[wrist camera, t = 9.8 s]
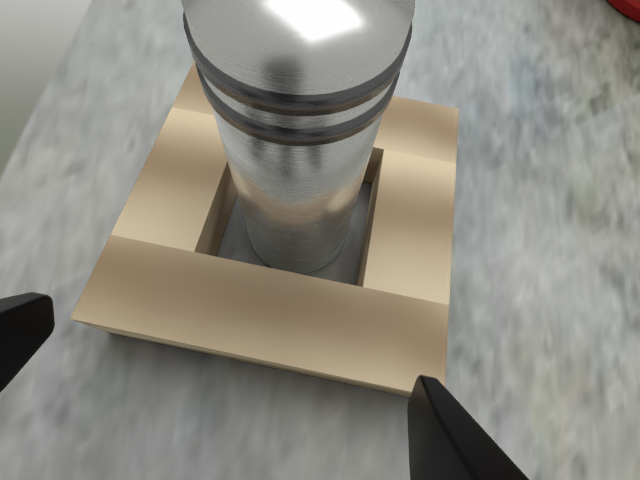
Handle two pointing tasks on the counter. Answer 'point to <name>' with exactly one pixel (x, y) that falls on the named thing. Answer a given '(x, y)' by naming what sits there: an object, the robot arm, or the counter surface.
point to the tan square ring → (277, 285)
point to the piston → (298, 110)
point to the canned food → (627, 8)
